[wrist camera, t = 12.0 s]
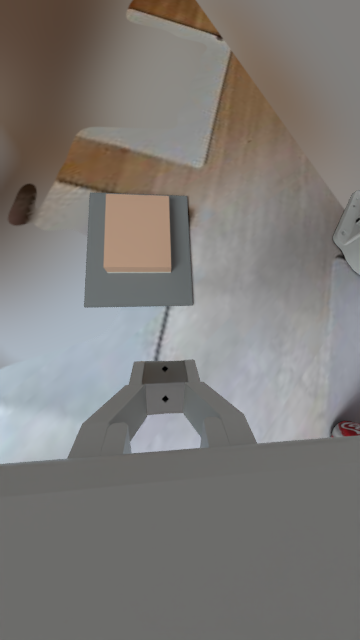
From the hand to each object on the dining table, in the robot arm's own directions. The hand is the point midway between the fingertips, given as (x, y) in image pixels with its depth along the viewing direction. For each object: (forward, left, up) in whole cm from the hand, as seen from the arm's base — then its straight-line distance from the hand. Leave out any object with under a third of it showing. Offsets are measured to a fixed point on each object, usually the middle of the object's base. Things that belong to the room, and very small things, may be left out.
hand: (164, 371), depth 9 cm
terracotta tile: (-13, -10, -22) cm, 28 cm away
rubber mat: (-19, -12, -24) cm, 33 cm away
